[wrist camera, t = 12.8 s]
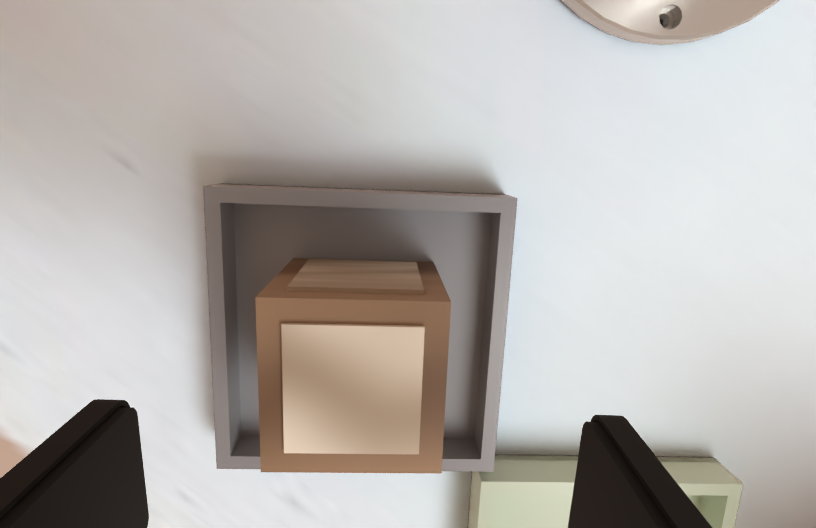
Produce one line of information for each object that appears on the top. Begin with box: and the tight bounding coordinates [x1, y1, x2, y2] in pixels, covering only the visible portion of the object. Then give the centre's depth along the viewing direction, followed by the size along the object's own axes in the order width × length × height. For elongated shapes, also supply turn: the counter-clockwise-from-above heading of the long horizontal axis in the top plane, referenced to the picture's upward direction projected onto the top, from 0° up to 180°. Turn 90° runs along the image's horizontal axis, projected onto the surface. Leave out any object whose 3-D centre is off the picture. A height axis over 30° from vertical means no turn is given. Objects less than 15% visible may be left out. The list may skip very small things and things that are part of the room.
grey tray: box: [203, 184, 517, 472], centre depth 21 cm, size 12×12×2 cm
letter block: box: [255, 258, 451, 473], centre depth 18 cm, size 6×6×6 cm
